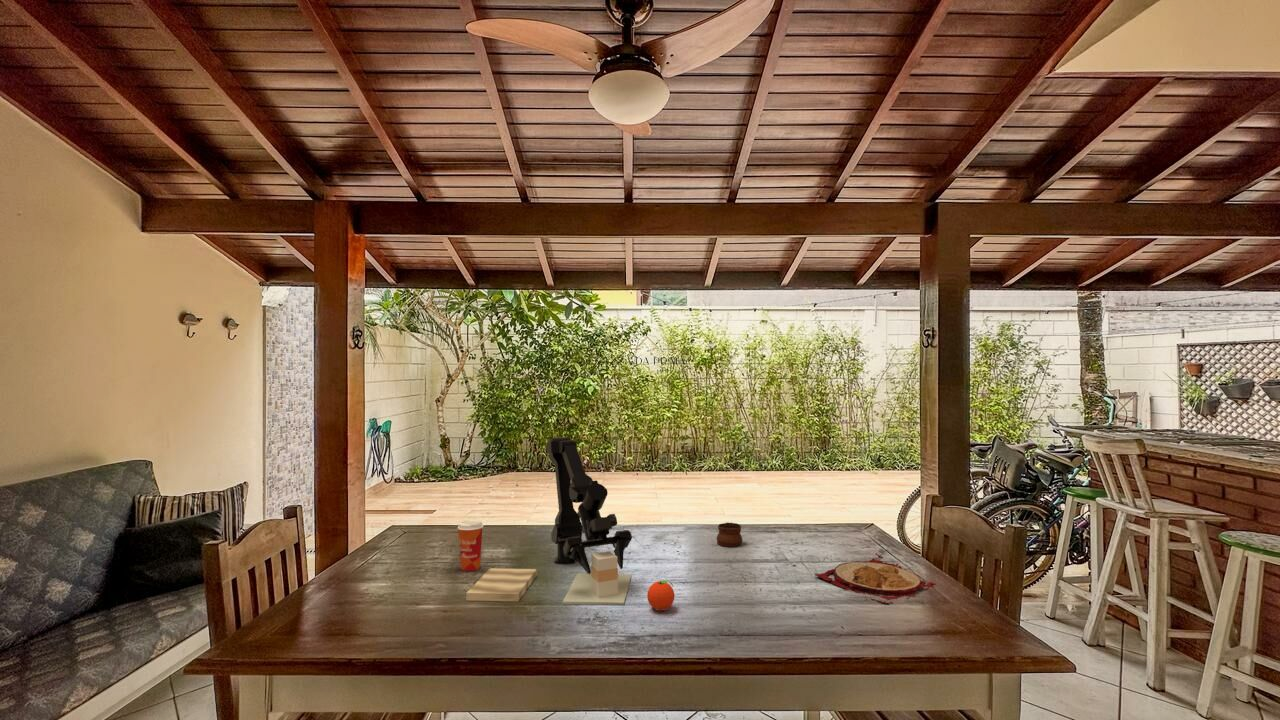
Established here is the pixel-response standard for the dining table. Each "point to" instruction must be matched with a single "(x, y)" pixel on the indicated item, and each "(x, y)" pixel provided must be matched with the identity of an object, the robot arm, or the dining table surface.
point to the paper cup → (470, 544)
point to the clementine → (660, 595)
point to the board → (502, 585)
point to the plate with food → (876, 579)
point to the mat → (584, 595)
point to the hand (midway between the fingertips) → (606, 570)
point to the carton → (604, 574)
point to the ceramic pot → (729, 535)
